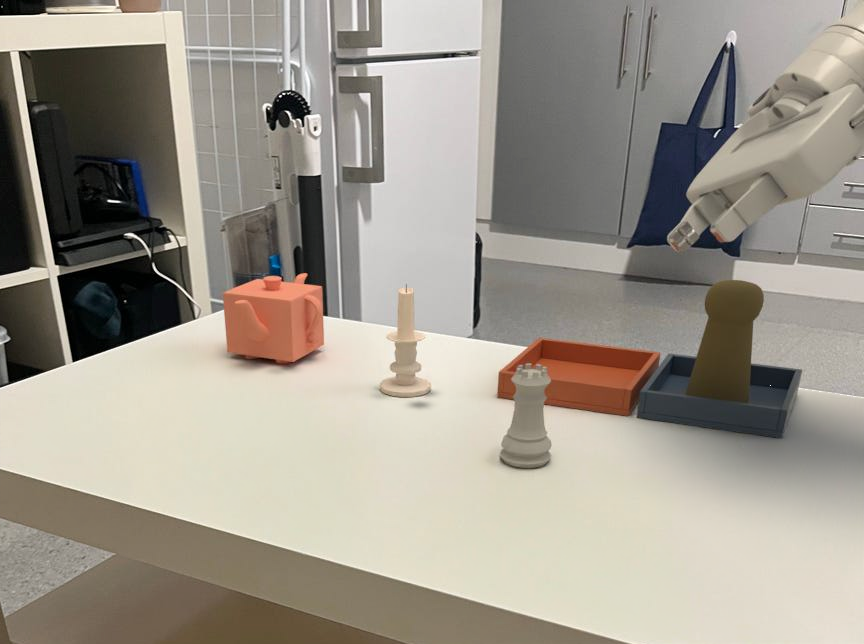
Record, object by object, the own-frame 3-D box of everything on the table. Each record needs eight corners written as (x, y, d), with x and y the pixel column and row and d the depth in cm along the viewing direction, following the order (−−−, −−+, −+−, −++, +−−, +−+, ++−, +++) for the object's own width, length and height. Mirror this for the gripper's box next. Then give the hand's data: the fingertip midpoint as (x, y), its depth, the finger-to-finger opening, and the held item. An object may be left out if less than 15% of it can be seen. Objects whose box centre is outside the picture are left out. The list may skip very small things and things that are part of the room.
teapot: (194, 365, 110) (186, 286, 106) (265, 331, 122) (260, 258, 117) (289, 380, 106) (285, 298, 101) (353, 343, 117) (352, 268, 113)
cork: (739, 412, 96) (762, 293, 90) (676, 401, 98) (694, 284, 92) (756, 394, 100) (779, 279, 94) (695, 384, 103) (714, 271, 97)
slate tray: (796, 394, 102) (802, 369, 100) (781, 438, 92) (787, 410, 90) (664, 377, 106) (668, 353, 105) (636, 417, 96) (640, 390, 95)
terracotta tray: (657, 376, 107) (660, 352, 105) (628, 416, 97) (631, 389, 95) (536, 361, 111) (538, 337, 110) (497, 397, 101) (498, 371, 100)
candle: (425, 398, 101) (427, 291, 95) (374, 395, 102) (373, 288, 96) (435, 382, 105) (437, 278, 100) (386, 379, 106) (385, 276, 101)
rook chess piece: (527, 474, 85) (534, 380, 81) (488, 458, 88) (493, 367, 83) (561, 460, 87) (570, 368, 83) (523, 446, 90) (529, 356, 86)
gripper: (935, 110, 68) (778, 263, 71) (795, 158, 88) (675, 277, 90) (881, 33, 67) (722, 193, 69) (751, 100, 86) (630, 222, 88)
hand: (694, 241), depth 80 cm, fingers open, 8 cm apart
